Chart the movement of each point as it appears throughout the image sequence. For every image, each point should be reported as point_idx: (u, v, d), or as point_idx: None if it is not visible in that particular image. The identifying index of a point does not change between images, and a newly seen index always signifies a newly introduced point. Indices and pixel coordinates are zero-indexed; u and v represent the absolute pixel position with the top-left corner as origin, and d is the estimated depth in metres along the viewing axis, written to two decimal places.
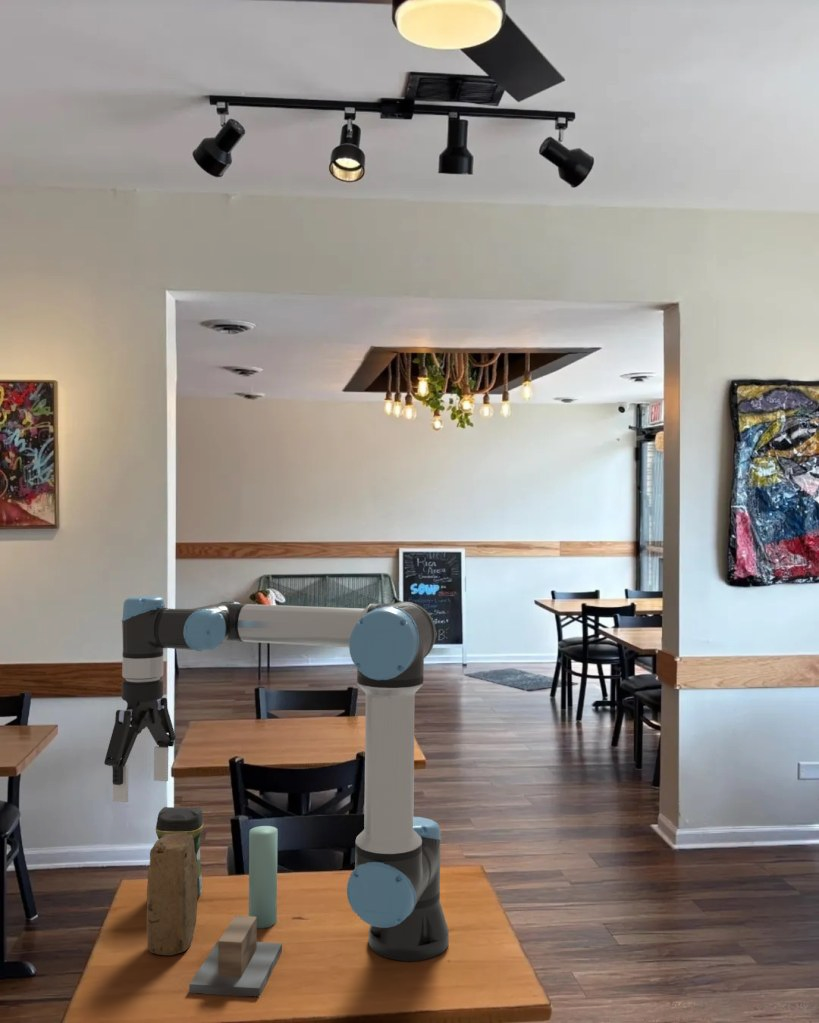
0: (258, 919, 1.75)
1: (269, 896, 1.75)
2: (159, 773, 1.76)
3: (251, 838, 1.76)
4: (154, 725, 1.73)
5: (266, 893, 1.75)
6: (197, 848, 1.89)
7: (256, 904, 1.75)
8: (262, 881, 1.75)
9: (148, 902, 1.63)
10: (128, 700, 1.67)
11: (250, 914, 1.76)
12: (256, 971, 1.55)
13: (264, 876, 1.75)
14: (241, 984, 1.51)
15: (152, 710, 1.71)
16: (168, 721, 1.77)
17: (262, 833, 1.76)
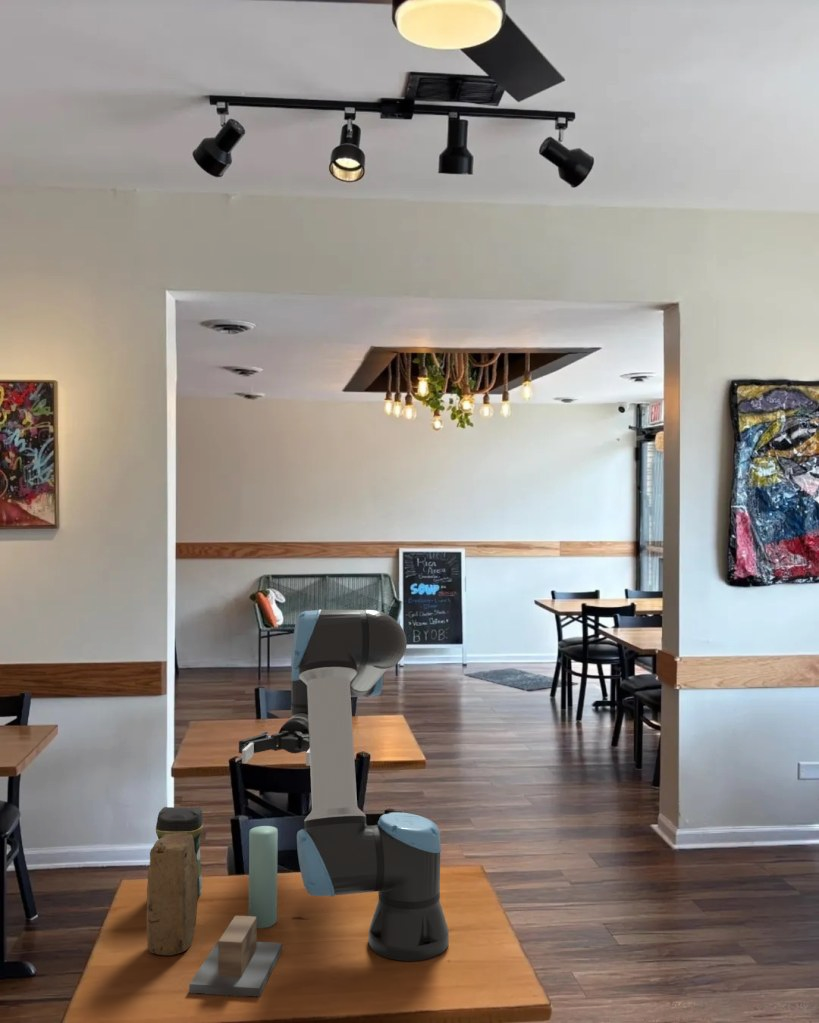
0: (258, 919, 1.75)
1: (269, 896, 1.75)
2: None
3: (251, 838, 1.76)
4: (302, 740, 1.99)
5: (266, 893, 1.75)
6: (197, 848, 1.89)
7: (256, 904, 1.75)
8: (262, 881, 1.75)
9: (148, 902, 1.63)
10: None
11: (250, 914, 1.76)
12: (256, 971, 1.55)
13: (264, 876, 1.75)
14: (241, 984, 1.51)
15: None
16: None
17: (262, 833, 1.76)
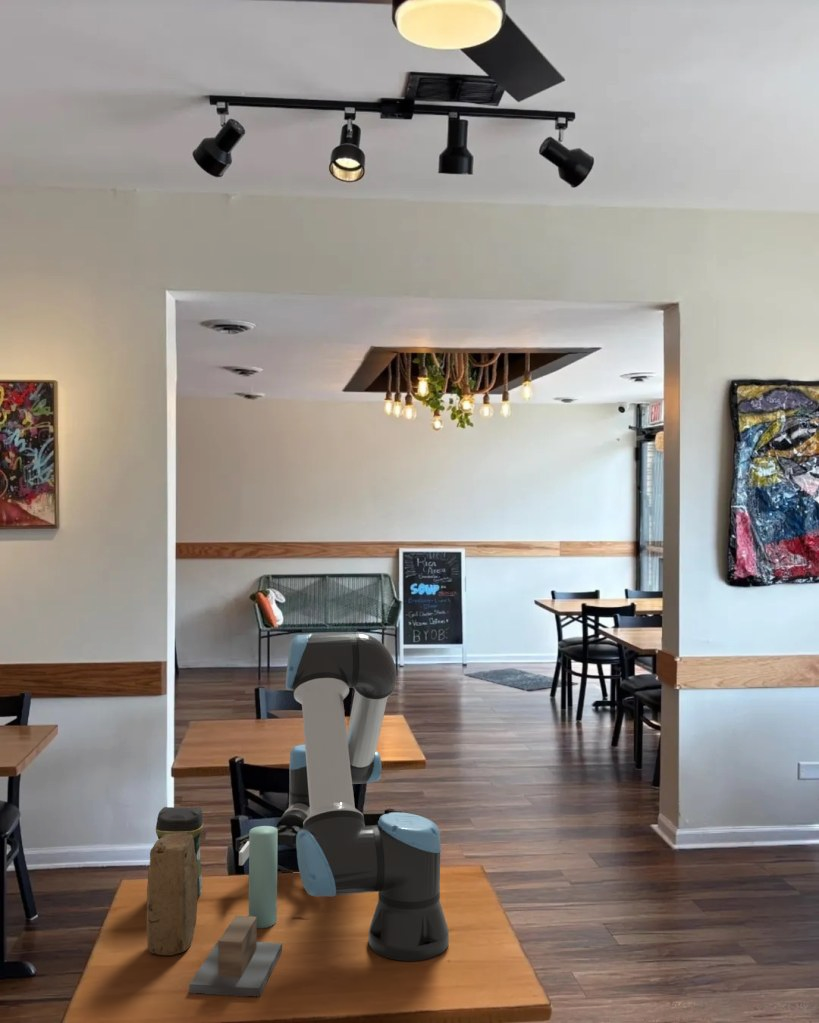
0: (258, 919, 1.75)
1: (269, 896, 1.75)
2: None
3: (251, 838, 1.76)
4: None
5: (266, 893, 1.75)
6: (197, 848, 1.89)
7: (256, 904, 1.75)
8: (262, 881, 1.75)
9: (148, 902, 1.63)
10: None
11: (250, 914, 1.76)
12: (256, 971, 1.55)
13: (264, 876, 1.75)
14: (241, 984, 1.51)
15: None
16: None
17: (262, 833, 1.76)
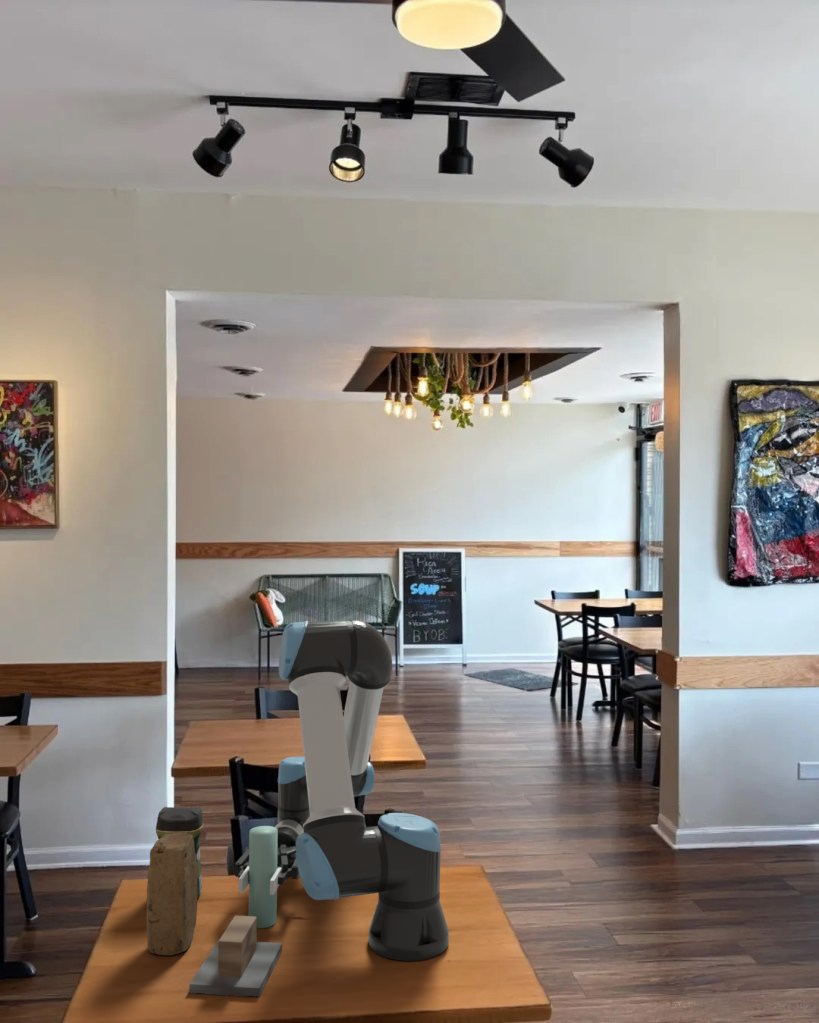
0: (258, 919, 1.75)
1: (269, 896, 1.75)
2: None
3: (251, 838, 1.76)
4: (280, 857, 1.85)
5: (266, 893, 1.75)
6: (197, 848, 1.89)
7: (256, 904, 1.75)
8: (262, 881, 1.75)
9: (148, 902, 1.63)
10: None
11: (250, 914, 1.76)
12: (256, 971, 1.55)
13: (264, 876, 1.75)
14: (241, 984, 1.51)
15: None
16: None
17: (262, 833, 1.76)
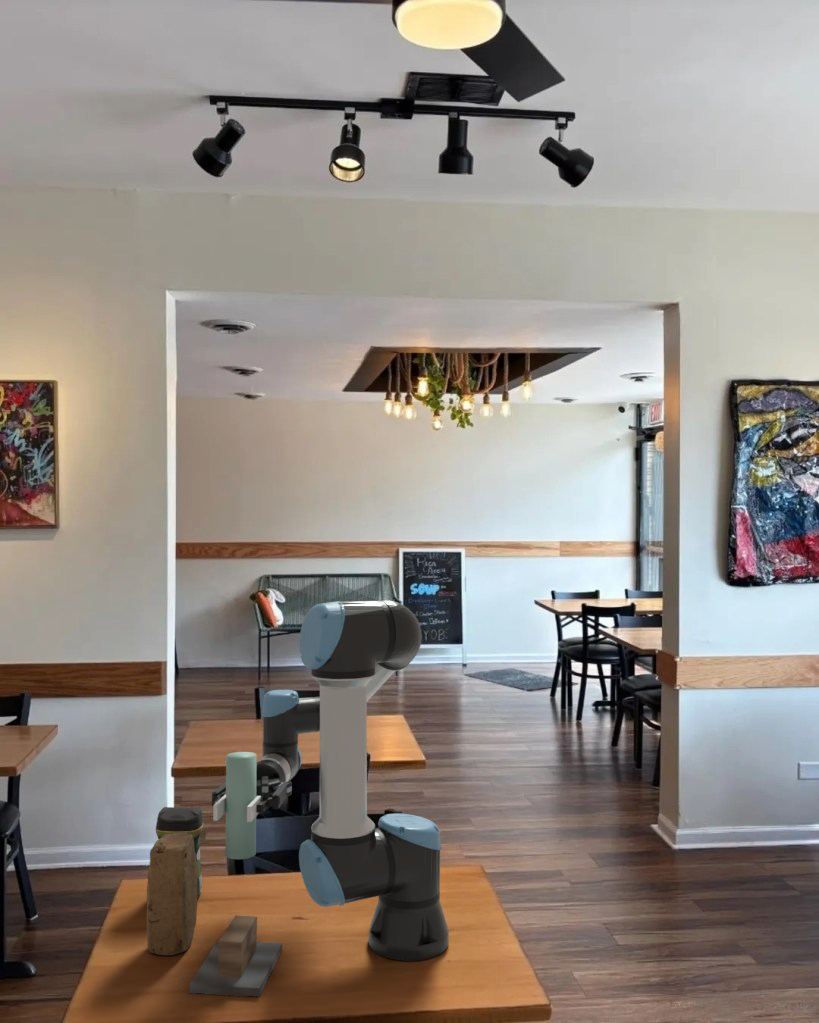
0: (235, 849, 1.62)
1: (247, 825, 1.63)
2: None
3: (228, 762, 1.63)
4: (262, 788, 1.73)
5: (243, 822, 1.62)
6: (197, 848, 1.89)
7: (233, 834, 1.62)
8: (239, 808, 1.62)
9: (148, 902, 1.63)
10: None
11: (227, 845, 1.63)
12: (256, 971, 1.55)
13: (241, 803, 1.62)
14: (241, 984, 1.51)
15: None
16: (280, 788, 1.71)
17: (239, 757, 1.63)
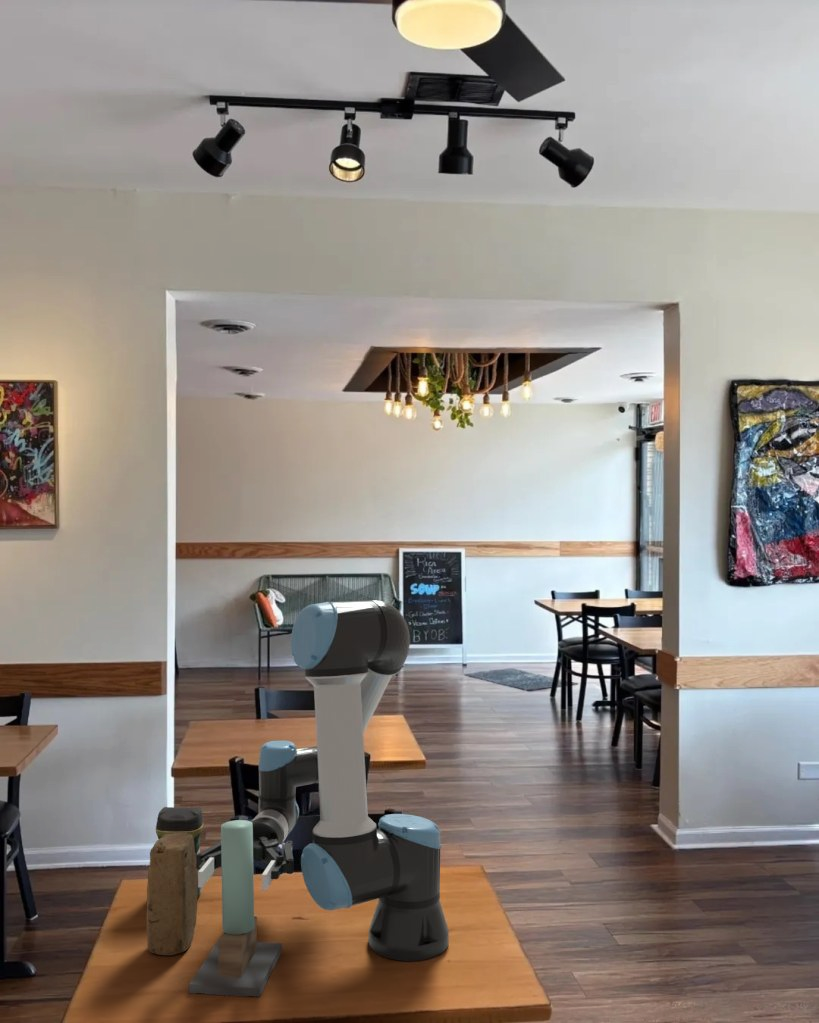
0: (233, 925, 1.56)
1: (244, 899, 1.56)
2: None
3: (223, 833, 1.57)
4: (265, 850, 1.66)
5: (241, 895, 1.56)
6: (197, 848, 1.89)
7: (231, 908, 1.56)
8: (236, 881, 1.56)
9: (148, 902, 1.63)
10: None
11: (224, 919, 1.57)
12: (256, 971, 1.55)
13: (238, 876, 1.56)
14: (241, 984, 1.51)
15: None
16: (287, 850, 1.65)
17: (235, 828, 1.57)
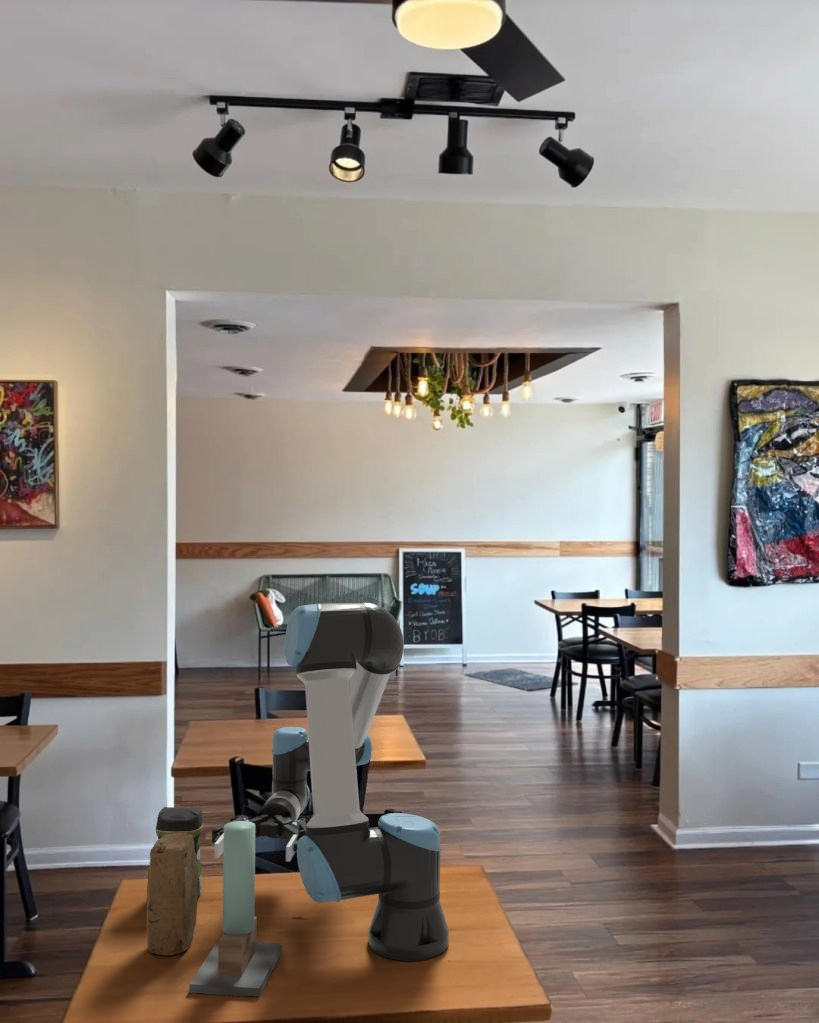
0: (233, 925, 1.56)
1: (245, 900, 1.56)
2: None
3: (225, 834, 1.57)
4: (282, 827, 1.79)
5: (242, 896, 1.56)
6: (197, 848, 1.89)
7: (231, 909, 1.56)
8: (237, 882, 1.56)
9: (148, 902, 1.63)
10: None
11: (224, 920, 1.57)
12: (256, 971, 1.55)
13: (239, 877, 1.56)
14: (241, 984, 1.51)
15: None
16: (304, 826, 1.78)
17: (237, 829, 1.57)
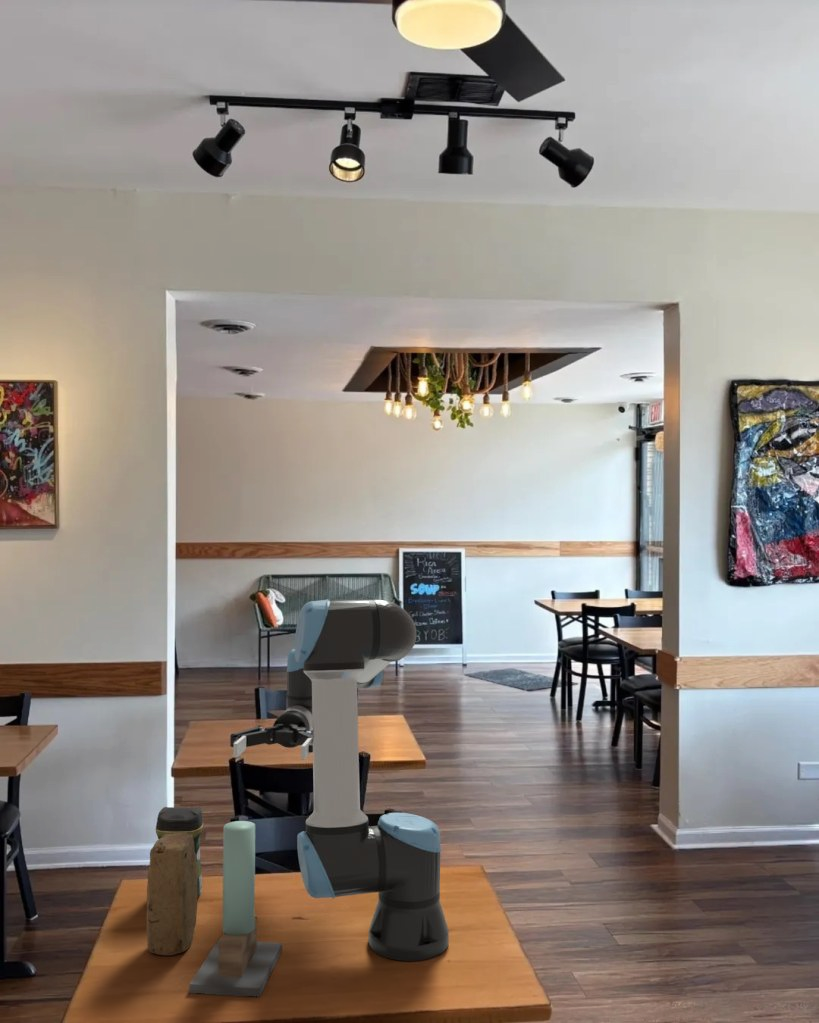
0: (233, 925, 1.56)
1: (245, 900, 1.56)
2: None
3: (225, 834, 1.57)
4: (297, 734, 1.88)
5: (242, 896, 1.56)
6: (197, 848, 1.89)
7: (231, 909, 1.56)
8: (237, 882, 1.56)
9: (148, 902, 1.63)
10: None
11: (224, 920, 1.57)
12: (256, 971, 1.55)
13: (239, 877, 1.56)
14: (241, 984, 1.51)
15: None
16: None
17: (237, 829, 1.57)
